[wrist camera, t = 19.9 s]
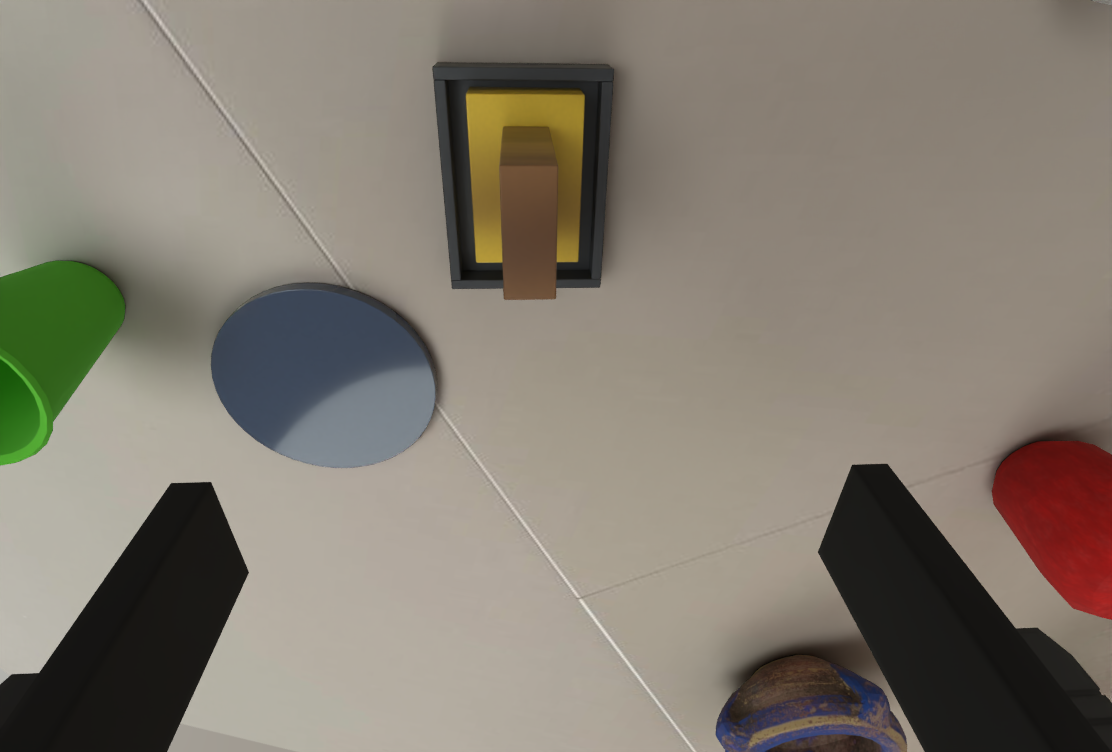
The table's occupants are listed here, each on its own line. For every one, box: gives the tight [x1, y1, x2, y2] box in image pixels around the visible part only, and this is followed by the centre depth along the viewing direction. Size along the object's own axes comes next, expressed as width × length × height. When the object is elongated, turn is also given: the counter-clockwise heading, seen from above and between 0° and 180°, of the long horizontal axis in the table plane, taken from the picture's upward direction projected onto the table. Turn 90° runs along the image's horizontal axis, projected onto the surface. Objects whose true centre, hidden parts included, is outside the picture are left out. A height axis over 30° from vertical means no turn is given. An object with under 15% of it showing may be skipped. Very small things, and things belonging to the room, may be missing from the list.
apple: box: [992, 441, 1112, 620], centre depth 45 cm, size 11×10×14 cm
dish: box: [433, 62, 614, 289], centre depth 34 cm, size 12×9×2 cm
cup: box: [0, 261, 125, 465], centre depth 33 cm, size 9×9×11 cm
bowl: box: [716, 655, 907, 752], centre depth 63 cm, size 18×18×10 cm
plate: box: [211, 283, 437, 468], centre depth 41 cm, size 15×15×1 cm
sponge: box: [466, 87, 585, 300], centre depth 30 cm, size 9×6×10 cm, turn 179°
